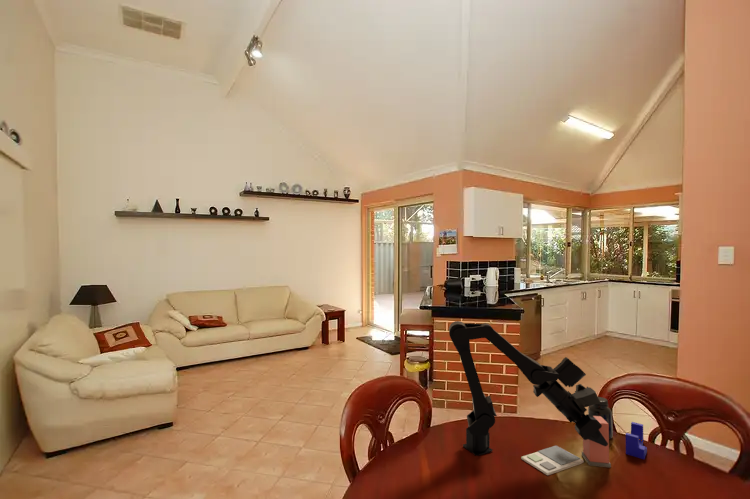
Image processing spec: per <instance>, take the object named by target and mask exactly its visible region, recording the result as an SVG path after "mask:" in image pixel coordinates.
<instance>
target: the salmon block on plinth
mask: <svg viewBox="0 0 750 499" xmlns="http://www.w3.org/2000/svg"><path fill="white" fill-rule="evenodd" d="M593 417H595V419H596V420H597V421H598V422H599V423H600V424H601V425H602V427H601V428H600V429H599V431H600V432H601V434H602V435H603V437H604V438H605V440H606V441H607V443H608V445H607V446H603V445H601V444H598V443H596V442H594V441H591V440H589V439H587V440H584V439H583V438H582V451H581V456H582V457H583V460H584V461H585V462H586V463H587V465H588V466H590V467H591V466H593V467H602V468H612V464H611V462H610V439H609V424H608V423H607V422H606V421H605V420H604V419H603V418H602V417H601V416H593Z"/></svg>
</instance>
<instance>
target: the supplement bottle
mask: <svg viewBox="0 0 750 499" xmlns="http://www.w3.org/2000/svg"><path fill="white" fill-rule="evenodd" d="M598 398H599V400H600V403H599V404H594V405H591V406H588V407H587V414H589V415H592V416H601V417H602V418H603V419H604V420H605V421H606V422H607V423H608V424H609V440H611V439H612V438H613V434H614V432H613V430H614V429H613V412H612V410H611V408H610V407H609V401H608V398H605V397H603V396H602V397H601V396H598Z"/></svg>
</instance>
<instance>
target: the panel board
mask: <svg viewBox="0 0 750 499" xmlns="http://www.w3.org/2000/svg"><path fill="white" fill-rule="evenodd" d="M520 458H521V460H522V461H524V462H525V463H527V464H529V465H530V466H532V467H533V468H536V469H537V470H538V471H539V472H542V473H543V474H544V475H546V476H551V475H553V474H555V473H559V472H562V471H563V470H564V471H565V470H567V469H570V468H572V467H576V466H579V465H581V464H584V462H585V459H582V458H581V457H579V456H578V455H575V454H573V453H571V452H569V451H567V449H564V448H562V447H561V446H558V445H553V446H550V447H546V448H543V449H540V450H537V451H536V452H533V453H529V454H526V455H523V456H521V457H520Z"/></svg>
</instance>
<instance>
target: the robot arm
mask: <svg viewBox="0 0 750 499" xmlns="http://www.w3.org/2000/svg"><path fill="white" fill-rule="evenodd" d="M448 332H449V338H450V340H451V342H452V344H453V346H454V347H455V349H456V351H457V352H458V355H459V358H460V361H461V364H462V365H461V366H462V368H463V371H464V373H465V374H464V375H465V378H466V380H467V384H468V387H469V390H470V393H471V398H472V399H471V400H472V408H473V409H472V411H471V412H469V414H467V415H466V420H467V425H468V426H467V427H466V428H465V437H466V438H465V440H466V441H465V443H464V444H462V447H463V448H464V449H466V450H468V452H470V453H471V454H472V455H474V456H475V457H476V456H477V457H478V456H481V455H486V454H489V453H492V452H493V449H492V448H491V446H490V441H491V440H490V437H491V436H490V432H489V431H490V429H491V428H493V426H494V425H495V424H496V417H497V412H496V410H495V408H494V404H493V400H492V398H491V395H488V396H486V395H485V393H484V391H483V388H482V384H481V381H480V377H479V374H478V372H477V368H476V364H475V362H474V359H473V355H472V352H471V344H470V343H471V342H470V340H478V339H486V340H487V341H488V342H490V343H491V344H492V345H493V346H494V347H495V348H496V349H498V350H499V351H500V352H501V353H502V354H503V355H504V356H506V357H507V358H508V359H509V360H510V361H511V362H512V363H514V364H515V365H516V367H517V368H518V370H520V371H521V373H522V374H523V375H524V377H526V379H527V380H528V381H529V382H530V383H531V384H532V386H533V391H532V392H533V394H534V395H535V397H537V398H539V397H540V396H541V395H543V396H544V397H545V398H546V399H547V400H548V401H549V402H550V403H551V404H552V405H553V406H554V407H555V408H556V410H558V412H559V413H560V414H562V416H564V417H565V418H566V420H568V421H569V423H570V424H571V423H574V430H575V431H576V432H577V434H578V435H579V436H580V437H581V438H582V440H583V439H584V440H587V439H589V440H591V441H594V442H596V443H598V444H601V445H603V446H607V445H608V443H607V441H606V440H605V438H604V437H603V435H602V434H601V432H600V431H599V429H600V428H601V427H602V425H601V424H600V423H599V422H598V421H597V420H596V419H595V417H593V416H592V415H589V414H588V413H587V414H585V413H586V411H587V412H588V407H589V406H591V405H594V404H599V403H600V400H599V398H598V397H599V396H598V394H597V392H596V391H595V390H594V389H593V388H592V387H589V386H586V387H585V386H584V385H582V384H581V383H579V381H580V380H582V379H583V378H584V377H585V376H586V375H587V373H585V372H584V371H583V370H582V369H581V367H579V366H578V365H577V364H575V363H574V362H573V361H572V360H571V359H570V358H568V356H567V357H566V356H565V357H564V358H563V359H562V360H561V361H560V362H559V363H558V365H556V366H555V367H554V368H553V367H552V366H549V365H544V364H540V363H539V362H538V361H536V360H535V359H534V358H531V357H530V356H528V355H527V354H524V353H522V352H521V351H519V349H518V348H516V347H515V346H514V345H513V344H512V343H510V342H509V341H508V340H507V339H506V338H504V336H503V335H501V334H500V333H499V332H498V331H496V330H495V329H494V328H493V326H492V325H490V324H489V323H488V322H487V323H486V322H484V323H464V322H462V321H459V320H457V321H453V322H451V323H450V325H449V327H448ZM558 381H559V382H558ZM560 382H561V384H562V385H561V384H560ZM577 383H578V384H577ZM563 386H564V387H563ZM574 386H575V390H574V392H573V393H571V392H570V391H569V390H567V389H565V387H569V388H573V387H574Z"/></svg>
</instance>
